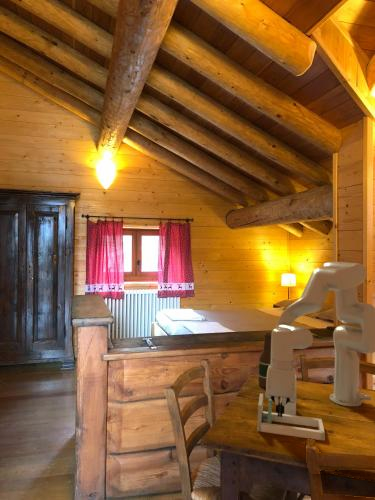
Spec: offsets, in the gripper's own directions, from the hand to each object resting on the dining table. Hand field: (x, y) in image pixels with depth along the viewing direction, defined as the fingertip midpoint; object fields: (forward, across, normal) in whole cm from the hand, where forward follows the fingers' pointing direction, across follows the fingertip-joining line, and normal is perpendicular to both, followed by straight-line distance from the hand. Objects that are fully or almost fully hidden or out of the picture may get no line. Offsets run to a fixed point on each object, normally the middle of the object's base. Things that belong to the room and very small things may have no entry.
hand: (279, 415), depth 135 cm
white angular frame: (+4, -4, 0) cm, 6 cm away
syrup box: (+4, -3, -14) cm, 15 cm away
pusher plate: (+4, +4, 0) cm, 6 cm away
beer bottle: (+4, +6, -41) cm, 42 cm away
